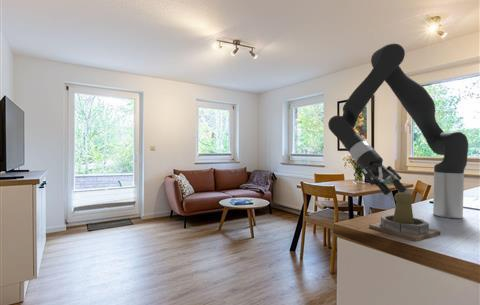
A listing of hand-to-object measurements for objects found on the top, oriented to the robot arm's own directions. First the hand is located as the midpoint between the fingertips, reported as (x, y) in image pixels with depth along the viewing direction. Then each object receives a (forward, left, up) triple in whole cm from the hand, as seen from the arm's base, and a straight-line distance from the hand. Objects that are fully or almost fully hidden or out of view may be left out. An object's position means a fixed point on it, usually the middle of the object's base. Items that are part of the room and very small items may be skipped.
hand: (396, 192), depth 84 cm
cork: (0, +2, -11) cm, 11 cm away
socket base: (0, +2, -12) cm, 12 cm away
